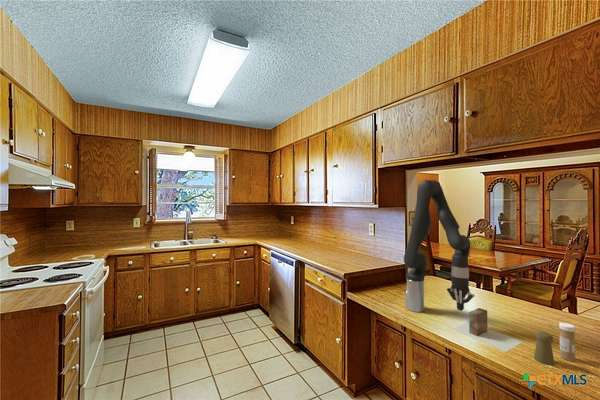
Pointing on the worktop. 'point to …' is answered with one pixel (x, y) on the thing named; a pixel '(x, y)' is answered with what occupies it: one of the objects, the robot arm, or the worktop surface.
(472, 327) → the teal and brown block
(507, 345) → the sage mat
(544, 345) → the brown rounded upright piece
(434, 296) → the worktop surface
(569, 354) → the sprinkles bottle
